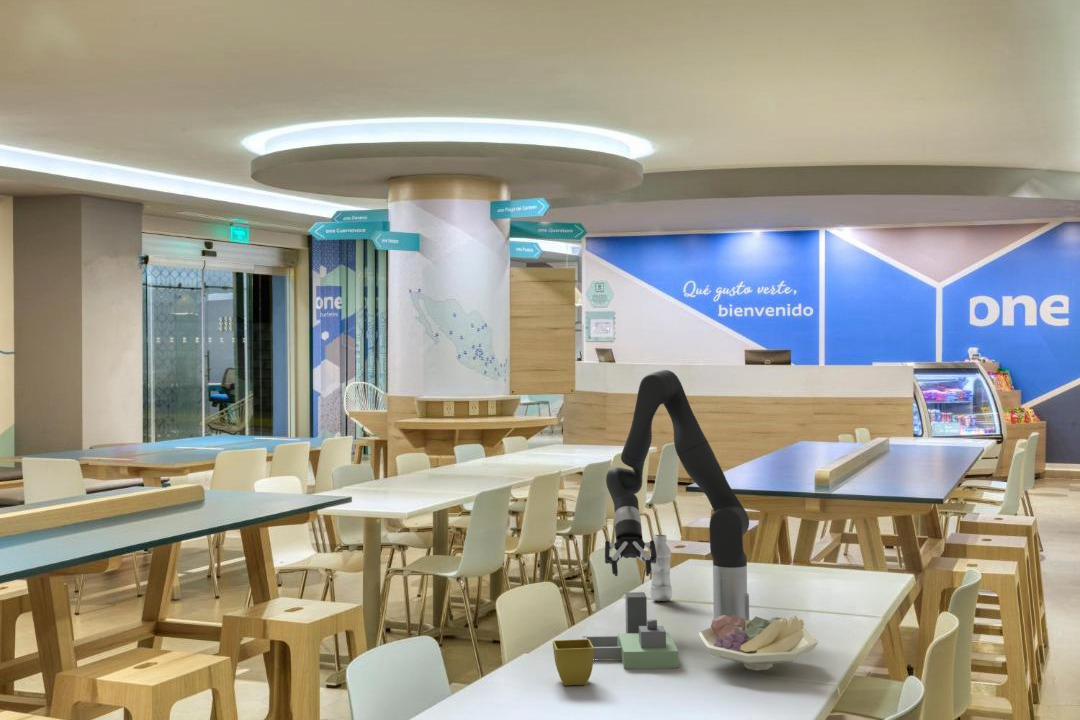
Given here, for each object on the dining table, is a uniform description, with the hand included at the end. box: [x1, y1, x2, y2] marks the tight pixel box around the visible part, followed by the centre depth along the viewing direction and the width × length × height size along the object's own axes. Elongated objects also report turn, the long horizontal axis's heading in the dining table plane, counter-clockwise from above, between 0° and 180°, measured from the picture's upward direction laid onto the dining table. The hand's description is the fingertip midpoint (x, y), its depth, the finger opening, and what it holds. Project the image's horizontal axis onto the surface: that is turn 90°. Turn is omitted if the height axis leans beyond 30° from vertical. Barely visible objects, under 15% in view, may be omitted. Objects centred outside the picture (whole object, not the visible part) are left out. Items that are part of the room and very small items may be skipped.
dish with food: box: [698, 615, 819, 671], centre depth 270 cm, size 28×28×14 cm
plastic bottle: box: [649, 534, 673, 602], centre depth 344 cm, size 6×7×20 cm
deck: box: [582, 618, 679, 669], centre depth 280 cm, size 22×20×10 cm
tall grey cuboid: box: [624, 591, 648, 634], centre depth 297 cm, size 5×6×12 cm
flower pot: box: [552, 638, 594, 687], centre depth 259 cm, size 9×9×9 cm
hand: (632, 574), depth 308 cm, fingers open, 8 cm apart
